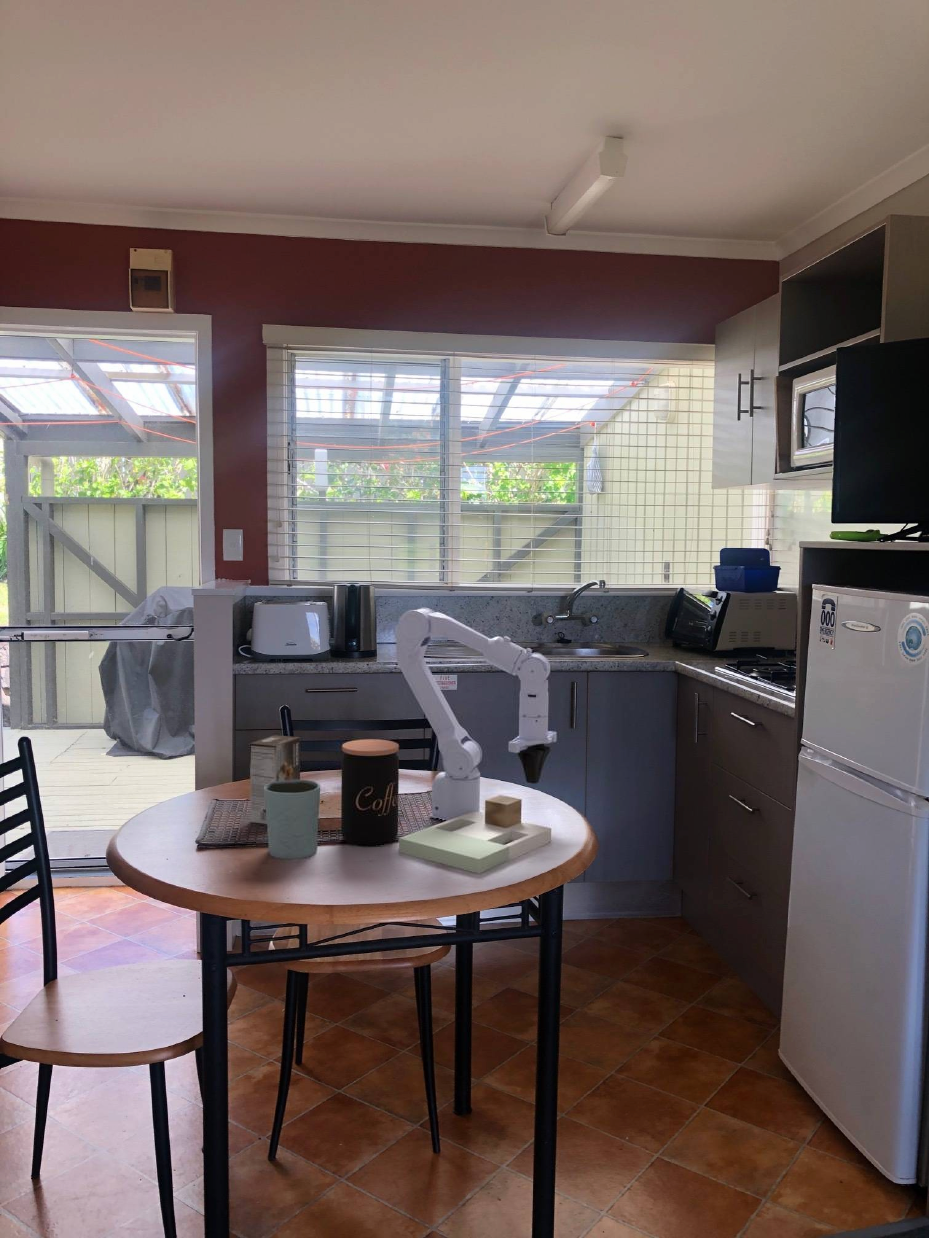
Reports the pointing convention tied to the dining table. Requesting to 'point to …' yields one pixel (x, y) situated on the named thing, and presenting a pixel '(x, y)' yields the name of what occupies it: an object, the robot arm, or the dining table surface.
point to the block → (503, 811)
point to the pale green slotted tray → (473, 842)
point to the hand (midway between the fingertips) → (532, 782)
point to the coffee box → (271, 768)
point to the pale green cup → (292, 818)
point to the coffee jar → (369, 792)
